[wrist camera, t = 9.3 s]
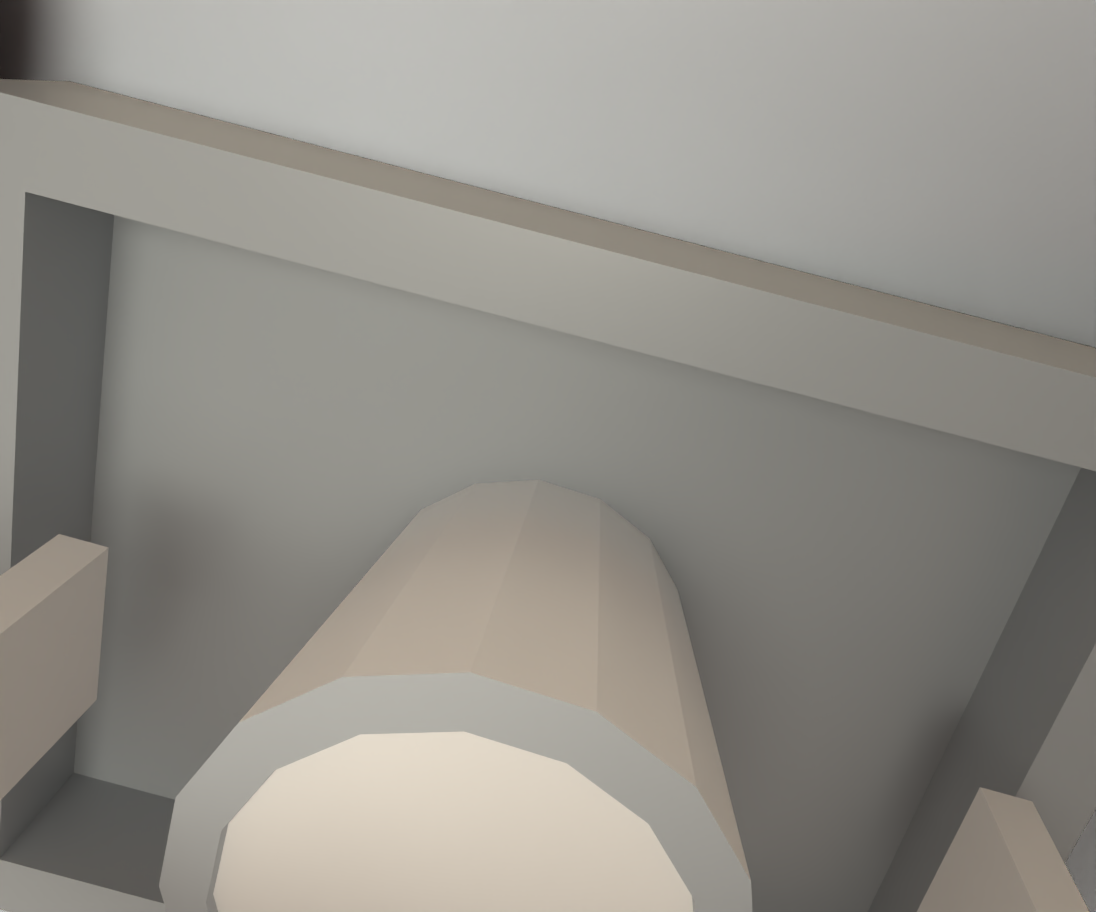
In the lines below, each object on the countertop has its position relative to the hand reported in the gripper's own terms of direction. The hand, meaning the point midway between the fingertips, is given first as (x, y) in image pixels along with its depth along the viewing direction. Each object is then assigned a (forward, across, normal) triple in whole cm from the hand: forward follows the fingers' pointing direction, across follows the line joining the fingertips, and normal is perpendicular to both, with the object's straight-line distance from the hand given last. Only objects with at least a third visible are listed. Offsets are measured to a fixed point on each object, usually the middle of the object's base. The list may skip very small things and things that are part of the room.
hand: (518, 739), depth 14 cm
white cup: (+3, 0, 0) cm, 4 cm away
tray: (+4, 0, 0) cm, 4 cm away
